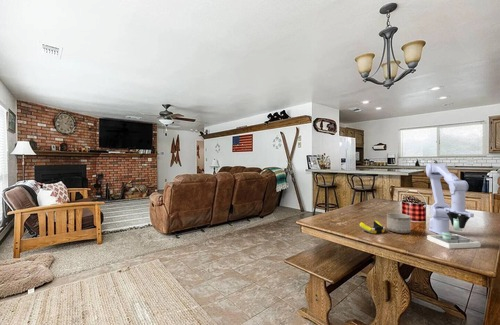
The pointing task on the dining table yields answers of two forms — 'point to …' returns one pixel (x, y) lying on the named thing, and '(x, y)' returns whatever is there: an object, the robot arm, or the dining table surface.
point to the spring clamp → (373, 228)
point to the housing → (453, 241)
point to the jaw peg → (456, 224)
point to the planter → (398, 222)
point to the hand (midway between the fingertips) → (458, 226)
